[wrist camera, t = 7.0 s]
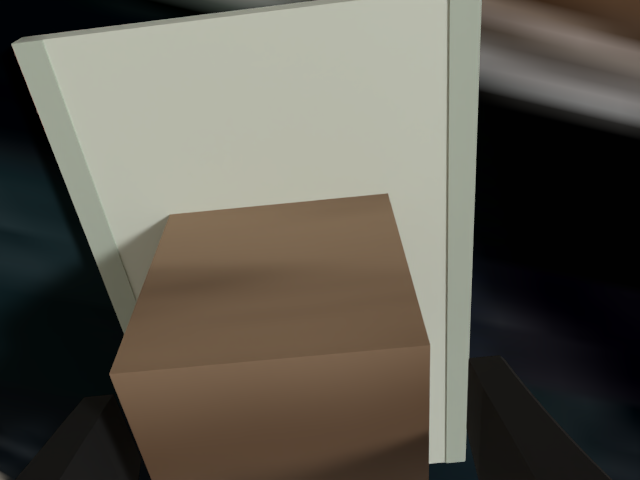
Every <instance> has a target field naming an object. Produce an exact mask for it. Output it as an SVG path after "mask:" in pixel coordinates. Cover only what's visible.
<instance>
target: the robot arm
mask: <svg viewBox="0 0 640 480" xmlns="http://www.w3.org/2000/svg"><path fill="white" fill-rule="evenodd" d="M466 429H467V433H468V437H469V442H470V446H471V450H472V455H473V459H474V463H475V467H476V471H477V475H478V479H479V480H612V479H611V478H610V477H609V476H608V475H607V474H606V473H605V472H604V471H603V470H602V469H601V468H600V467H599V466H598V465H597V464H596V463H595V462H594V461H593V460H592V459H591V458H590V457H589V456H588V455H587V454H586V453H585V452H584V451H583V450H582V449H581V448H580V447H579V446H578V445H577V444H576V443H575V442H574V440H573V439H572V438H571V437H570V436H569V435H568V434H567V433H566V432H565V431H564V430H563V429H562V427H561V426H560V425H559V424H558V423H557V422H556V421H555V420H554V419H553V418H552V416H551V415H550V414H549V413H548V412H547V411H546V410H545V409H544V407H543V406H542V405H541V404H540V403H539V402H538V400H537V399H536V398H535V397H534V396H533V394H532V393H531V392H530V391H529V390H528V388H527V387H526V386H525V385H524V384H523V382H522V381H521V380H520V379H519V377H518V376H517V375H516V374H515V372H514V371H513V370H512V368H511V367H510V366H509V365H508V363H507V362H506V361H505V359H503V358H502V357H501V356H500V355H498V356H489V357H479V358H469V360H468V391H467V421H466ZM140 465H141V457H140V455H139V453H138V450H137V448H136V446H135V443H134V441H133V439H132V436H131V434H130V432H129V429H128V427H127V425H126V422H125V420H124V418H123V415H122V413H121V411H120V408H119V406H118V404H117V401H116V399H115V397H114V394H112V395H102V396H92V397H84V398H83V399H82V401H81V402H80V403H79V404H78V405H77V406H76V408H75V409H74V410H73V411H72V412H71V414H70V415H69V416H68V417H67V418H66V420H65V421H64V422H63V423H62V424H61V426H60V427H59V428H58V429H57V431H56V432H55V433H54V434H53V435H52V437H51V438H50V439H49V440H48V441H47V443H46V444H45V445H44V446H43V447H42V449H41V450H40V451H39V452H38V453H37V455H36V456H35V457H34V458H33V460H32V461H31V462H30V463H29V464H28V465H27V467H26V468H25V469H24V470H23V471H22V472H21V474H20V475H19V476H18V477H17V478H16V479H15V480H138V479H139V472H140Z"/></svg>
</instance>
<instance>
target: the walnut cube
mask: <svg viewBox="0 0 640 480" xmlns="http://www.w3.org/2000/svg"><path fill="white" fill-rule="evenodd" d="M109 375H110V377H111V380H112V382H113V385H114V387H115V390H116V392H117V395H118V397H119V400H120V402H121V405H122V407H123V410H124V412H125V415H126V417H127V420H128V422H129V425H130V427H131V430H132V432H133V435H134V437H135V440H136V442H137V445H138V447H139V450H140V452H141V455H142V457H143V460H144V462H145V465H146V467H147V470H148V472H149V475H150V477H151V480H429V409H430V342H429V339H428V335H427V331H426V328H425V324H424V321H423V317H422V314H421V310H420V306H419V303H418V299H417V296H416V292H415V288H414V285H413V281H412V278H411V274H410V271H409V267H408V263H407V260H406V256H405V253H404V249H403V245H402V242H401V238H400V235H399V231H398V228H397V224H396V220H395V217H394V213H393V210H392V206H391V202H390V199H389V195H388V193H387V194H376V195H366V196H356V197H345V198H335V199H325V200H314V201H304V202H294V203H283V204H273V205H263V206H252V207H242V208H232V209H221V210H211V211H201V212H190V213H180V214H170V215H169V218H168V220H167V223H166V226H165V228H164V231H163V233H162V236H161V239H160V241H159V244H158V247H157V249H156V252H155V255H154V257H153V260H152V263H151V265H150V268H149V270H148V273H147V276H146V278H145V281H144V284H143V286H142V289H141V292H140V294H139V297H138V299H137V302H136V305H135V307H134V310H133V313H132V315H131V318H130V321H129V323H128V326H127V328H126V331H125V334H124V336H123V339H122V342H121V344H120V347H119V350H118V352H117V355H116V357H115V360H114V363H113V365H112V368H111V371H110V373H109Z"/></svg>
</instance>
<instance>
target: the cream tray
mask: <svg viewBox="0 0 640 480" xmlns="http://www.w3.org/2000/svg"><path fill="white" fill-rule="evenodd" d="M481 6H482V0H316V1H308V2H300V3H292V4H284V5H276V6H268V7H260V8H252V9H244V10H236V11H228V12H220V13H212V14H204V15H196V16H188V17H180V18H172V19H164V20H156V21H148V22H140V23H132V24H124V25H116V26H108V27H100V28H93V29H85V30H77V31H69V32H61V33H53V34H45V35H37V36H29V37H22V38H20V39H19V40H17V41H15V42H14V43H12V44H11V45H12V47H13V50H14V53H15V55H16V58H17V60H18V63H19V65H20V68H21V71H22V73H23V76H24V78H25V81H26V83H27V86H28V89H29V91H30V94H31V96H32V99H33V101H34V104H35V107H36V109H37V112H38V114H39V117H40V119H41V122H42V125H43V127H44V130H45V132H46V135H47V137H48V140H49V143H50V145H51V148H52V150H53V153H54V155H55V158H56V161H57V163H58V166H59V168H60V171H61V173H62V176H63V178H64V181H65V184H66V186H67V189H68V191H69V194H70V196H71V199H72V202H73V204H74V207H75V209H76V212H77V214H78V217H79V220H80V222H81V225H82V227H83V230H84V232H85V235H86V238H87V240H88V243H89V245H90V248H91V250H92V253H93V256H94V258H95V261H96V263H97V266H98V268H99V271H100V274H101V276H102V279H103V281H104V284H105V286H106V289H107V292H108V294H109V297H110V299H111V302H112V304H113V307H114V310H115V312H116V315H117V317H118V320H119V322H120V325H121V328H122V330H123V333H124V334H125V331H126V328H127V326H128V323H129V321H130V318H131V315H132V313H133V310H134V307H135V305H136V302H137V299H138V297H139V294H140V292H141V289H142V286H143V284H144V281H145V278H146V276H147V273H148V270H149V268H150V265H151V263H152V260H153V257H154V255H155V252H156V249H157V247H158V244H159V241H160V239H161V236H162V233H163V231H164V228H165V226H166V223H167V220H168V218H169V215H170V214H180V213H190V212H201V211H211V210H221V209H232V208H242V207H252V206H263V205H273V204H283V203H294V202H304V201H314V200H325V199H335V198H345V197H356V196H366V195H376V194H387V193H388V195H389V199H390V202H391V206H392V210H393V213H394V217H395V220H396V224H397V228H398V231H399V235H400V238H401V242H402V245H403V249H404V253H405V256H406V260H407V263H408V267H409V271H410V274H411V278H412V281H413V285H414V288H415V292H416V296H417V299H418V303H419V306H420V310H421V314H422V317H423V321H424V324H425V328H426V331H427V335H428V339H429V342H430V409H429V464H431V463H441V462H446V463H452V462H463V461H465V455H466V421H467V391H468V360H469V343H470V315H471V287H472V259H473V231H474V203H475V175H476V146H477V118H478V90H479V62H480V34H481Z"/></svg>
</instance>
